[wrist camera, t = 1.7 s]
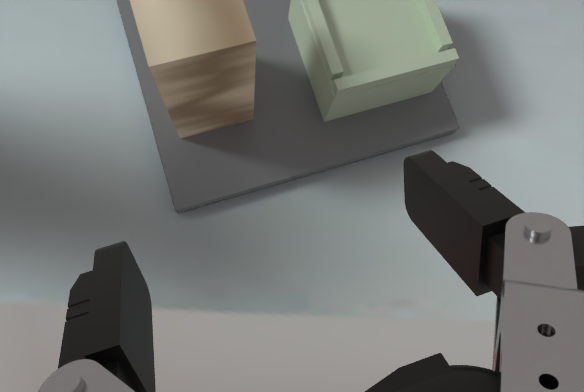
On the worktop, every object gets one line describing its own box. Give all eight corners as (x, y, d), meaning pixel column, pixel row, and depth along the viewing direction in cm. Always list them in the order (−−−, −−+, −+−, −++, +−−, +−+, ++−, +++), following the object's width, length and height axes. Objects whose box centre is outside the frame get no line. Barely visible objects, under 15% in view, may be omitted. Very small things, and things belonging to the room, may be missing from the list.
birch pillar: (179, 138, 31) (148, 66, 21) (159, 70, 32) (121, -30, 22) (253, 118, 32) (256, 40, 22) (232, 52, 32) (225, -52, 23)
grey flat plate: (177, 213, 31) (175, 210, 30) (110, -25, 34) (106, -35, 33) (453, 132, 34) (459, 127, 33) (369, -80, 37) (373, -90, 36)
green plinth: (323, 121, 32) (337, 92, 27) (288, 18, 33) (294, -27, 29) (431, 92, 33) (461, 59, 29) (392, -7, 35) (415, -54, 30)
